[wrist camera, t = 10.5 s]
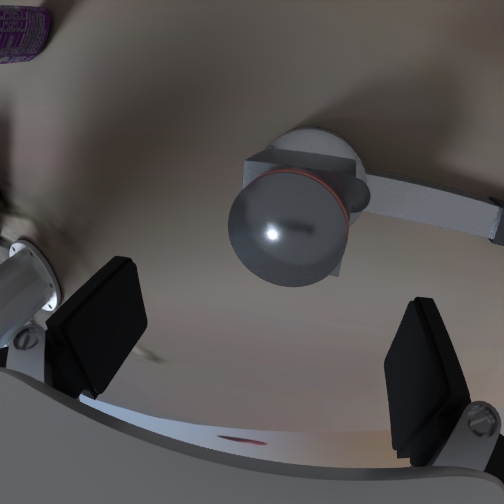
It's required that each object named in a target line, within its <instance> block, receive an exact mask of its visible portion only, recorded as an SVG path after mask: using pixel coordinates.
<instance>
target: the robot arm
mask: <svg viewBox="0 0 504 504" xmlns="http://www.w3.org/2000/svg"><path fill="white" fill-rule="evenodd" d="M9 254H10V258H8V259H7V260H6V261H4V262H3V263H2V264H0V504H504V436H503V435H502V434H500V429H501V419H500V416H499V413H498V412H497V410H496V409H495V408H494V407H493V406H492V405H491V404H489V403H487V402H484V401H474V402H472V403H471V399H470V393H469V390H468V387H467V384H466V381H465V378H464V375H463V372H462V369H461V366H460V363H459V361H458V358H457V355H456V353H455V350H454V347H453V345H452V342H451V340H450V337H449V335H448V332H447V330H446V327H445V325H444V323H443V320H442V318H441V316H440V313H439V311H438V309H437V307H436V304H435V302H434V300H433V299H432V298H424V297H416V298H415V299H414V301H410V302H409V304H408V306H407V309H406V311H405V314H404V316H403V319H402V321H401V324H400V326H399V328H398V331H397V333H396V335H395V338H394V340H393V342H392V344H391V347H390V349H389V351H388V353H387V355H386V358H385V361H384V371H385V378H386V386H387V394H388V403H389V412H390V423H391V435H392V447H393V449H394V450H397V458H410V464H411V466H410V467H404V468H335V467H320V466H308V465H297V464H289V463H282V462H274V461H268V460H261V459H256V458H250V457H245V456H240V455H235V454H230V453H226V452H221V451H217V450H213V449H209V448H205V447H200V446H197V445H193V444H190V443H186V442H183V441H180V440H176V439H173V438H170V437H167V436H164V435H161V434H158V433H155V432H152V431H149V430H146V429H144V428H141V427H138V426H135V425H133V424H130V423H128V422H125V421H123V420H120V419H118V418H115V417H113V416H110V415H108V414H106V413H103V412H101V411H99V410H97V409H94V408H92V407H90V406H88V405H86V404H84V403H82V402H80V400H79V395H80V394H81V393H83V395H85V396H87V397H89V398H91V399H94V400H95V399H96V398H97V396H98V395H99V394H102V393H103V392H104V391H105V389H106V388H107V386H108V385H109V383H110V382H111V380H112V379H113V377H114V376H115V374H116V373H117V371H118V370H119V368H120V367H121V365H122V364H123V362H124V361H125V359H126V358H127V356H128V355H129V353H130V352H131V350H132V349H133V347H134V346H135V344H136V343H137V341H138V340H139V339H140V337H141V336H142V334H143V333H144V331H145V330H146V328H147V316H146V312H145V307H144V303H143V298H142V293H141V288H140V283H139V278H138V272H137V267H136V264H135V263H133V261H132V259H131V258H128V257H122V256H115V257H113V258H112V259H111V260H110V261H109V262H108V263H107V264H106V265H104V266H103V267H102V268H101V269H100V270H99V271H98V272H97V273H96V274H94V275H93V276H92V277H91V278H90V279H89V280H88V281H87V282H86V283H85V284H84V285H83V286H82V287H80V288H79V289H78V290H77V291H76V292H75V293H74V294H73V295H72V296H71V297H70V298H69V299H68V300H67V301H66V302H65V303H64V304H63V305H62V306H61V307H60V308H59V309H58V310H57V311H56V312H55V313H54V314H53V315H52V316H51V317H50V318H49V319H48V320H47V321H46V322H45V323H46V325H47V327H48V329H47V330H46V331H45V330H44V329H43V327H41V326H40V325H37V324H29V325H26V326H24V325H25V324H26V323H27V322H28V321H29V320H33V319H34V315H35V314H36V313H37V312H38V311H39V310H40V309H41V308H42V309H44V310H48V311H52V310H54V309H55V308H56V307H57V306H58V305H59V304H60V300H61V294H60V288H59V284H58V282H57V279H56V277H55V274H54V272H53V270H52V268H51V267H50V265H49V263H48V262H47V260H46V259H45V257H44V256H43V255H42V254H41V252H40V251H39V250H38V249H37V248H36V247H35V246H34V245H32V244H31V243H29V242H28V241H26V240H18V241H16V242H14V243H13V244H12V245H11V248H10V253H9ZM10 339H11V340H10ZM9 340H10V343H9V346H8V347H4V348H2V347H3V346H4V345H5V344H6V343H7V342H8V341H9Z"/></svg>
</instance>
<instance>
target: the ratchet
mask: <svg viewBox="0 0 504 504" xmlns="http://www.w3.org/2000/svg"><path fill="white" fill-rule="evenodd" d="M268 148H277V149H286V150H294V151H303V152H310V153H318V154H324V155H331V156H338V157H344V158H350V159H356V181H355V188H354V194H353V201H352V207H351V213H350V219H349V226H350V225H351V224H353V223H354V221H355V220H356V219H357V218H358V216H359V215H360V213H361V211H363V212H368V213H374V214H379V215H385V216H390V217H395V218H400V219H405V220H410V221H415V222H420V223H425V224H430V225H434V226H439V227H443V228H448V229H452V230H457V231H461V232H465V233H469V234H474V235H478V236H482V237H486V238H488V239H489V240H490V241H491V242H492V243H494V244H498V245H502V246H504V201H502V200H499V199H496V198H493V197H490V198H489V199H488V198H485V197H482V196H479V195H475V194H472V193H469V192H465V191H462V190H458V189H454V188H451V187H447V186H443V185H439V184H435V183H431V182H427V181H423V180H419V179H415V178H410V177H406V176H401V175H397V174H392V173H387V172H382V171H377V170H372V169H367V168H364V166H363V164H362V162H361V160H360V159H359V157H358V155H357V154H356V152H355V151H354V149H353V148H352V147H351V145H350V144H349V143H348V142H347V141H346V140H345V139H344V138H342V137H341V136H339V135H338V134H336V133H334V132H332V131H330V130H327V129H324V128H319V127H302V128H297V129H294V130H291V131H289V132H287V133H285V134H283V135H282V136H281V137H279V138H278V139H276V140H275V141H273V142H272V143H271V144H270V145H269V146H268V147H267V148H266V149H268ZM266 149H265V150H266Z"/></svg>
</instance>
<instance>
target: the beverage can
mask: <svg viewBox="0 0 504 504" xmlns="http://www.w3.org/2000/svg"><path fill="white" fill-rule="evenodd" d="M49 28H50V14H49V12H48V10H47V9H46V8H44V7H32V6H6V5H0V64H6V63H15V62H26V61H30V60H32V59H33V58H34V57H35V56H36V55H37V54H38V53H39V52H40V50H41V49H42V47H43V45H44V43H45V41H46V38H47V36H48V32H49Z"/></svg>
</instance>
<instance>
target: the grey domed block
mask: <svg viewBox="0 0 504 504" xmlns="http://www.w3.org/2000/svg"><path fill="white" fill-rule="evenodd" d="M355 181H356V159H350V158H344V157H338V156H331V155H324V154H318V153H310V152H303V151H294V150H286V149H277V148H268V149H266V150H264V151H262V152H260V153H258V154H256V155H254V156H252V157H250V158H248V159H246V160H244V167H243V190H242V191H241V192H240V193H239V195H238V196H237V197H236V199H235V201H234V203H233V205H232V207H231V210H230V214H229V220H228V231H229V237H230V241H231V244H232V246H233V249H234V251H235V253H236V254H237V256H238V258H239V259H240V260H241V262H242V263H243V264H244V265H245V266H246V267H247V268H248V269H249V270H250V271H251V272H252V273H254V274H255V275H257V276H258V277H260V278H261V279H263V280H265V281H267V282H270V283H273V284H276V285H280V286H286V287H302V286H307V285H311V284H314V283H316V282H318V281H320V280H322V279H324V278H325V277H327V276H328V275H332V276H337V277H338V276H339V271H340V266H341V262H342V257H343V254H344V251H345V247H346V244H347V240H348V231H349V219H350V213H351V207H352V201H353V194H354V188H355Z"/></svg>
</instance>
